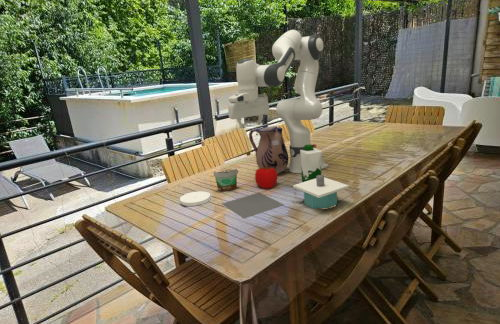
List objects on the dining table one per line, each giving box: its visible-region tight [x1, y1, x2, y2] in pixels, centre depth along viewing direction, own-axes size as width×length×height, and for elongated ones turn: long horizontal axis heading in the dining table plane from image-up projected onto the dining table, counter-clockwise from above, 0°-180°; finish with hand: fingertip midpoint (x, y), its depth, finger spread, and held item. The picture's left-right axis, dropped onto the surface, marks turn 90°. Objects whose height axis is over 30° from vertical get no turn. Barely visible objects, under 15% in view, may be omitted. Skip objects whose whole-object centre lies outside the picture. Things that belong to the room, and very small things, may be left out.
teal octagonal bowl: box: [303, 192, 338, 209], centre depth 144 cm, size 13×13×7 cm
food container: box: [213, 167, 239, 193], centre depth 168 cm, size 12×6×10 cm, turn 105°
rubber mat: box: [221, 192, 285, 219], centre depth 149 cm, size 20×20×1 cm
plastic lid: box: [179, 191, 211, 207], centre depth 159 cm, size 14×14×2 cm
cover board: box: [292, 174, 350, 198], centre depth 142 cm, size 16×16×5 cm
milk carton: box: [300, 144, 323, 183], centre depth 161 cm, size 9×9×20 cm
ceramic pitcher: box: [248, 125, 289, 175], centre depth 188 cm, size 18×21×25 cm
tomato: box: [254, 167, 278, 190], centre depth 169 cm, size 11×13×10 cm
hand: (250, 126), depth 160 cm, fingers open, 8 cm apart
